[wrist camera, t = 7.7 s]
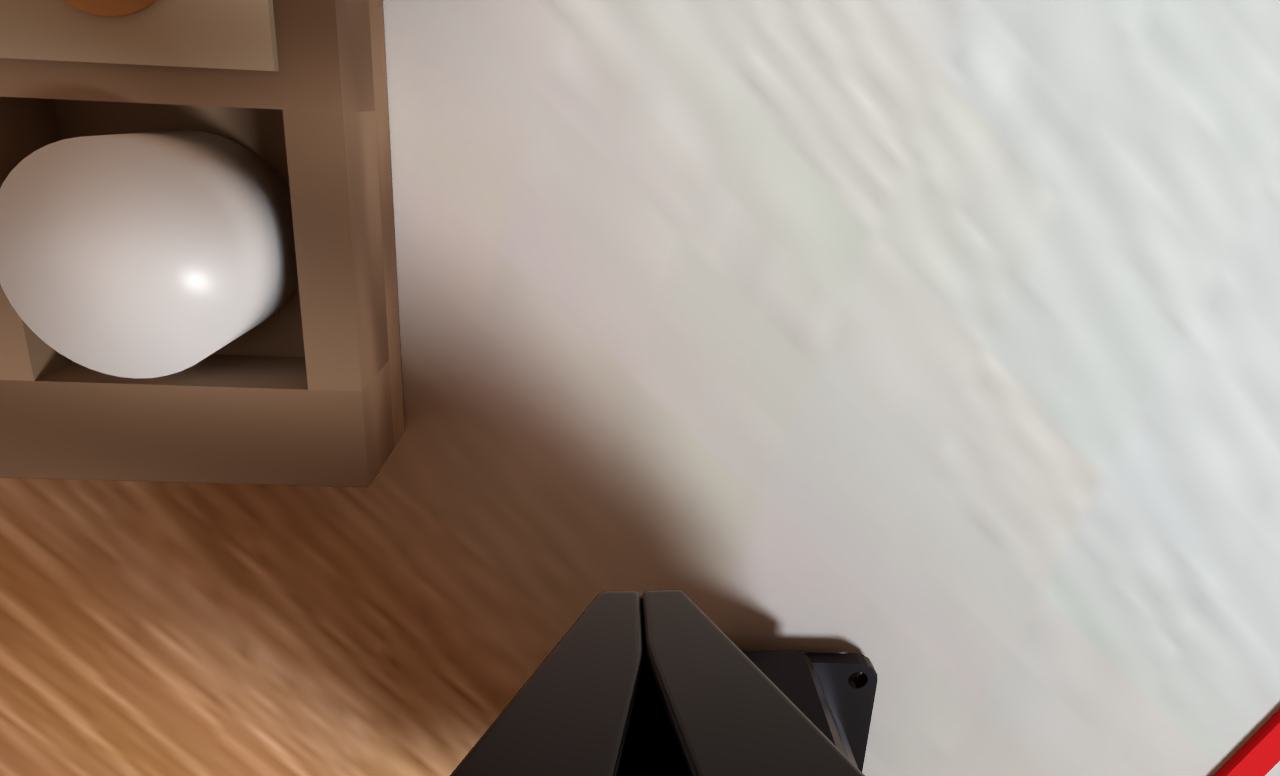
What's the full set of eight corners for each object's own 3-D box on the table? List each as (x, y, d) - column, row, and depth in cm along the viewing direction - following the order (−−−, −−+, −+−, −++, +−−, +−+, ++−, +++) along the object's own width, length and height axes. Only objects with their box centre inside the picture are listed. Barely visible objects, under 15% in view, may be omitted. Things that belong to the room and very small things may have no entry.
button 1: (313, 335, 17) (254, 382, 14) (116, 329, 17) (16, 374, 14) (295, 134, 16) (227, 142, 13) (82, 125, 16) (-36, 130, 13)
